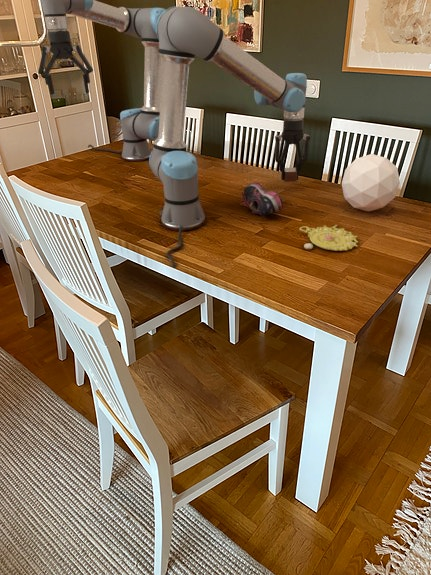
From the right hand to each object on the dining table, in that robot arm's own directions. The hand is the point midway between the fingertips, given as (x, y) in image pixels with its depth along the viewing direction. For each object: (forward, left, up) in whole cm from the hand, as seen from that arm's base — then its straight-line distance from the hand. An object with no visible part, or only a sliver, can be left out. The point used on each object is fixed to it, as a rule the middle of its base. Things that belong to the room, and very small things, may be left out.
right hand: (289, 178), depth 179 cm
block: (0, 0, 0) cm, 0 cm away
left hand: (+25, +83, +33) cm, 93 cm away
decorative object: (-47, +1, -4) cm, 47 cm away
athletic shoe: (-20, +18, -4) cm, 27 cm away
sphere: (-26, -21, -4) cm, 34 cm away
